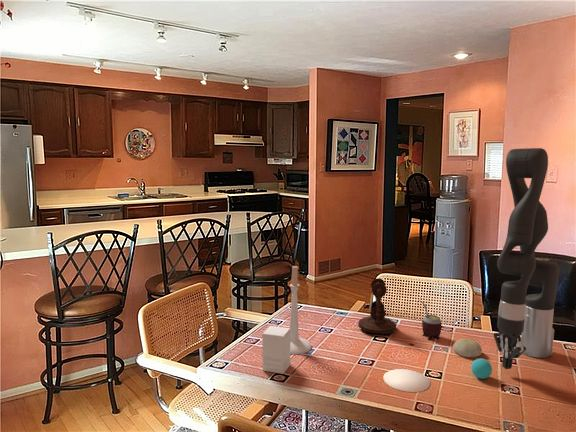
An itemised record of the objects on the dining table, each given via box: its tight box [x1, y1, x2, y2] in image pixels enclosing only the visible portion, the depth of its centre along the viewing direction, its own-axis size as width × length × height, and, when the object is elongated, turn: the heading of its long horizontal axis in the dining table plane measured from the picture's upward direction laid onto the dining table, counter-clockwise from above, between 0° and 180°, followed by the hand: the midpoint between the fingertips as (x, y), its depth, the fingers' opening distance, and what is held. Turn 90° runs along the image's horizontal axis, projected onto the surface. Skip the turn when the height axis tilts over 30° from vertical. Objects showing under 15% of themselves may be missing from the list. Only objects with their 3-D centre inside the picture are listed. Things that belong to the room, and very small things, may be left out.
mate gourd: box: [419, 300, 443, 341], centre depth 176 cm, size 8×8×15 cm
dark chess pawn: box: [357, 277, 397, 336], centre depth 183 cm, size 15×15×20 cm
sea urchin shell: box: [452, 338, 483, 358], centre depth 163 cm, size 9×8×8 cm
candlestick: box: [289, 265, 312, 355], centre depth 165 cm, size 13×13×30 cm
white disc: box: [383, 368, 431, 393], centre depth 143 cm, size 14×14×1 cm
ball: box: [470, 358, 493, 379], centre depth 145 cm, size 6×6×6 cm
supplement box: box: [262, 325, 291, 375], centre depth 150 cm, size 7×7×13 cm
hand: (506, 367), depth 147 cm, fingers closed
